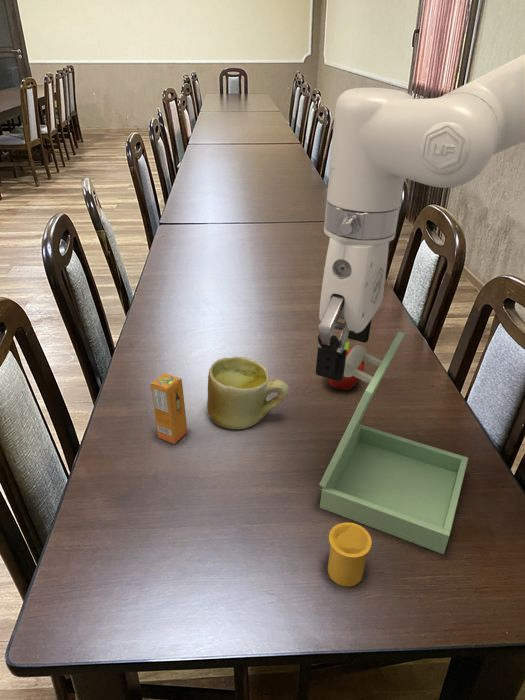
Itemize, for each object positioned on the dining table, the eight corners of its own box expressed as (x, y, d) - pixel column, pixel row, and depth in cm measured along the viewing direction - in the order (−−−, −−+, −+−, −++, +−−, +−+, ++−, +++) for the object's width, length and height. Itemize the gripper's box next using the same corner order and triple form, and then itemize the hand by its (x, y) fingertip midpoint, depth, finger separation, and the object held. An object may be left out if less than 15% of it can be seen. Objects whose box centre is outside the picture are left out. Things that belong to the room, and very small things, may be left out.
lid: (405, 333, 68) (370, 317, 69) (372, 393, 57) (331, 372, 58) (360, 422, 78) (330, 406, 79) (324, 488, 67) (290, 469, 68)
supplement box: (170, 425, 82) (165, 370, 77) (188, 433, 81) (184, 378, 75) (155, 437, 80) (149, 382, 74) (173, 445, 78) (169, 389, 73)
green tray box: (463, 475, 74) (468, 457, 73) (443, 554, 63) (449, 536, 61) (354, 440, 80) (357, 423, 78) (319, 507, 69) (321, 489, 67)
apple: (317, 375, 95) (321, 326, 89) (354, 373, 96) (361, 323, 90) (328, 401, 88) (334, 349, 83) (368, 398, 89) (376, 347, 84)
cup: (374, 576, 60) (380, 544, 58) (343, 596, 58) (348, 564, 55) (347, 547, 64) (351, 516, 61) (316, 565, 61) (320, 533, 59)
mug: (184, 417, 81) (203, 358, 78) (214, 399, 90) (232, 345, 87) (255, 454, 78) (278, 394, 75) (278, 431, 87) (299, 377, 84)
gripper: (372, 252, 48) (350, 404, 57) (415, 204, 62) (391, 333, 71) (295, 237, 51) (285, 384, 60) (352, 194, 64) (337, 320, 73)
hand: (343, 357), depth 65 cm, fingers open, 9 cm apart
